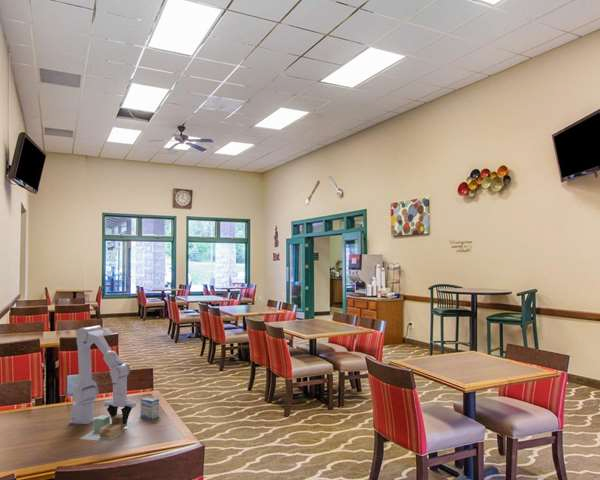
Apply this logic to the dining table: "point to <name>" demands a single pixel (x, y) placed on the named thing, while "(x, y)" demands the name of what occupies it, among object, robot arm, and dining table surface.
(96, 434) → the blueprint board
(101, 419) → the sage-green block
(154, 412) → the medicine box
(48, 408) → the dining table surface
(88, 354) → the robot arm
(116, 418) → the walnut block
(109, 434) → the oak base block
